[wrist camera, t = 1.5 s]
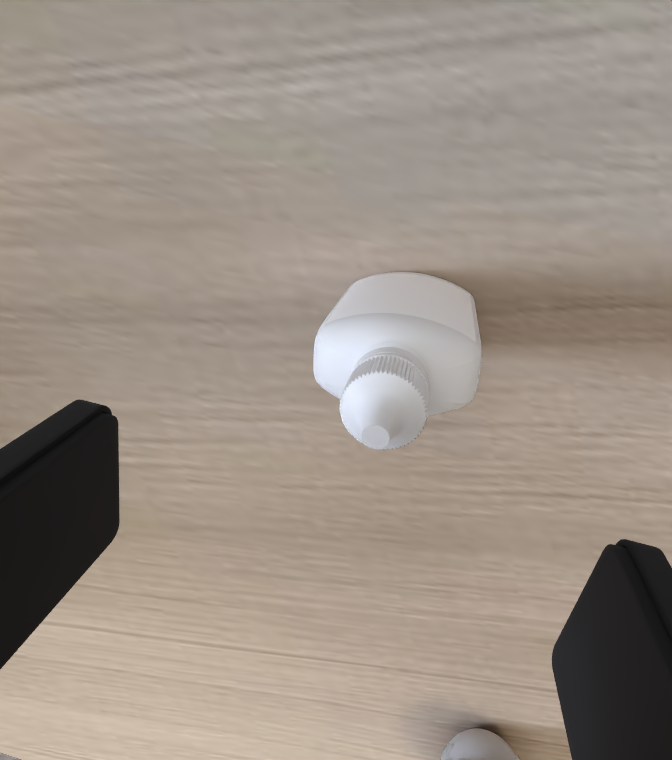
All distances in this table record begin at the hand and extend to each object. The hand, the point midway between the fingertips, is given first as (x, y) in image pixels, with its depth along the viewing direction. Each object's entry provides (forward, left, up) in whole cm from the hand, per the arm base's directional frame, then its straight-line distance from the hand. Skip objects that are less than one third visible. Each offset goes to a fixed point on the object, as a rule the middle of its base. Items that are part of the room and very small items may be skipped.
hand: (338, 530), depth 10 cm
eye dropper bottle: (0, 0, -16) cm, 16 cm away
